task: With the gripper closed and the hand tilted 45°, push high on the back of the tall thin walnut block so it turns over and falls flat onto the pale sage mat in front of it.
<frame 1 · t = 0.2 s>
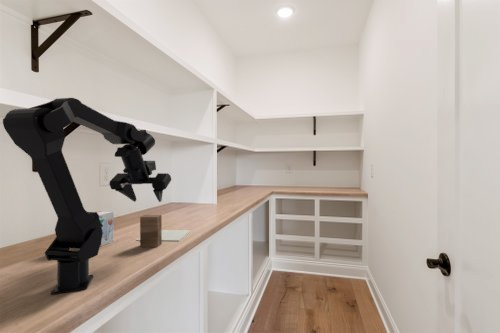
hand: (147, 201, 85), 15 cm above the table, tool tilted 30°, fingers open, 9 cm apart
walnut block: (151, 245, 83), on the table
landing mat: (165, 235, 95), on the table
light bulb box: (94, 245, 84), on the table
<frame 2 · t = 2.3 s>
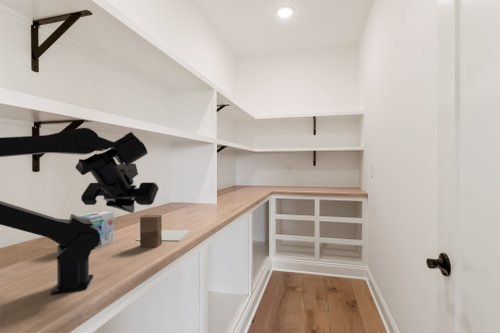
hand: (132, 211, 71), 14 cm above the table, tool tilted 45°, fingers closed
nothing on the table moved.
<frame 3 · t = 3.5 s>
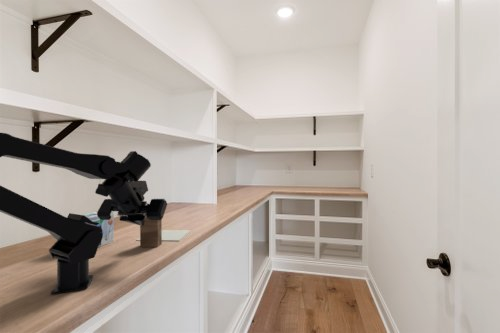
hand: (143, 224, 77), 8 cm above the table, tool tilted 45°, fingers closed
nothing on the table moved.
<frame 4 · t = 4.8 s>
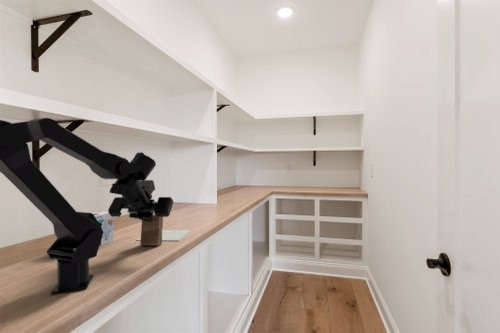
hand: (150, 221, 82), 8 cm above the table, tool tilted 45°, fingers closed
walnut block: (151, 244, 83), on the table, tilted 8°
everything else where it was.
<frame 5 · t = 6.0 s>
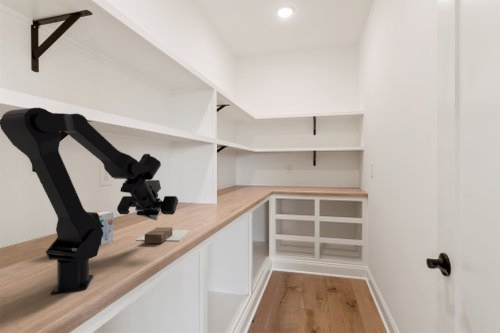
hand: (156, 218, 87), 8 cm above the table, tool tilted 45°, fingers closed
walnut block: (153, 238, 84), point 2 cm above the table, tilted 90°, touching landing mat
everything else where it was.
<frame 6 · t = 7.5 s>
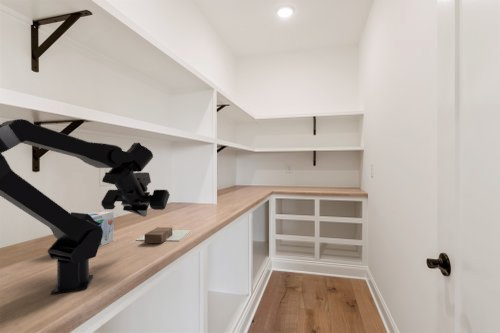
hand: (145, 215, 79), 11 cm above the table, tool tilted 45°, fingers closed
nothing on the table moved.
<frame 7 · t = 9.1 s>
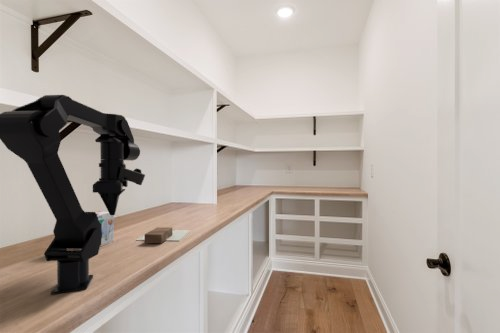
hand: (112, 214, 69), 13 cm above the table, tool pointing down, fingers closed
nothing on the table moved.
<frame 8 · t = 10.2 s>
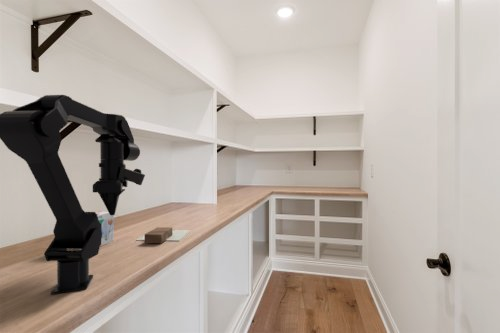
hand: (112, 215, 69), 13 cm above the table, tool pointing down, fingers closed
nothing on the table moved.
at the end: walnut block tilted 90°; walnut block touching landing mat; the gripper is holding nothing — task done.
